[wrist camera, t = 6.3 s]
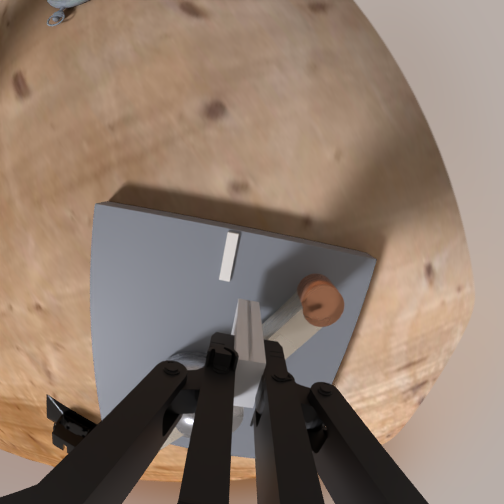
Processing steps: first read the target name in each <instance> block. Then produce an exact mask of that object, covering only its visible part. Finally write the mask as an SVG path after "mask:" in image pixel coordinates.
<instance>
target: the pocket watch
mask: <svg viewBox="0 0 504 504" xmlns="http://www.w3.org/2000/svg"><path fill="white" fill-rule="evenodd" d="M47 1H48V3H49V4H50V5H51V6H53V7H55V8H60V10H59V11H57V12H55V13H54V14H53V15H52V16H51V17H50V18H52V17H53V19H52V20H53V21H55V22H56V21H59V19H60V18H62V17H63V19H62V20H61V21H60V22H58V23H57V24H53V25H51V24H49V20H50V18H49V19H48V20H47V25H48V26H56V25H58V24H60V23H61V22H62V21H63V20H64V18H65V15H64V12H63V10H64V9H65V8H70V7H74V6H77V5H80V4H82V3H84V2H86V1H89V0H47Z"/></svg>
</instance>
